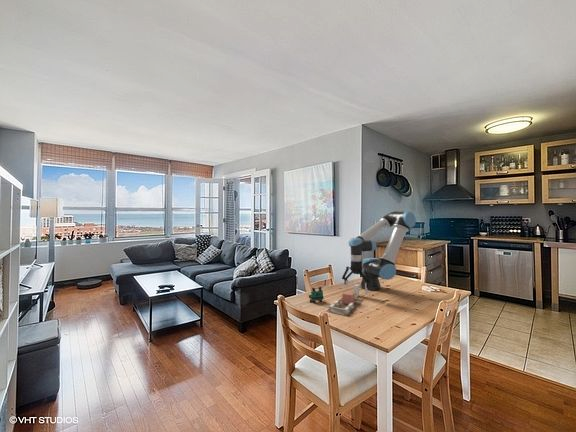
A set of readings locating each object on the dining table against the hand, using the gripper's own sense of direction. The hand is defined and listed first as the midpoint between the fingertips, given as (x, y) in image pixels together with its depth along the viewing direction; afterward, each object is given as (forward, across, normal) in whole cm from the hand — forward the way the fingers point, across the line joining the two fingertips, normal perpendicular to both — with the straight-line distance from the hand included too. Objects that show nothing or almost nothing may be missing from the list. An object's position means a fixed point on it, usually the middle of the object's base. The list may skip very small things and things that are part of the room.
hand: (356, 290), depth 180 cm
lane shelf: (+4, 0, -22) cm, 22 cm away
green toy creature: (+4, -20, -24) cm, 31 cm away
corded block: (+4, 0, -9) cm, 10 cm away
